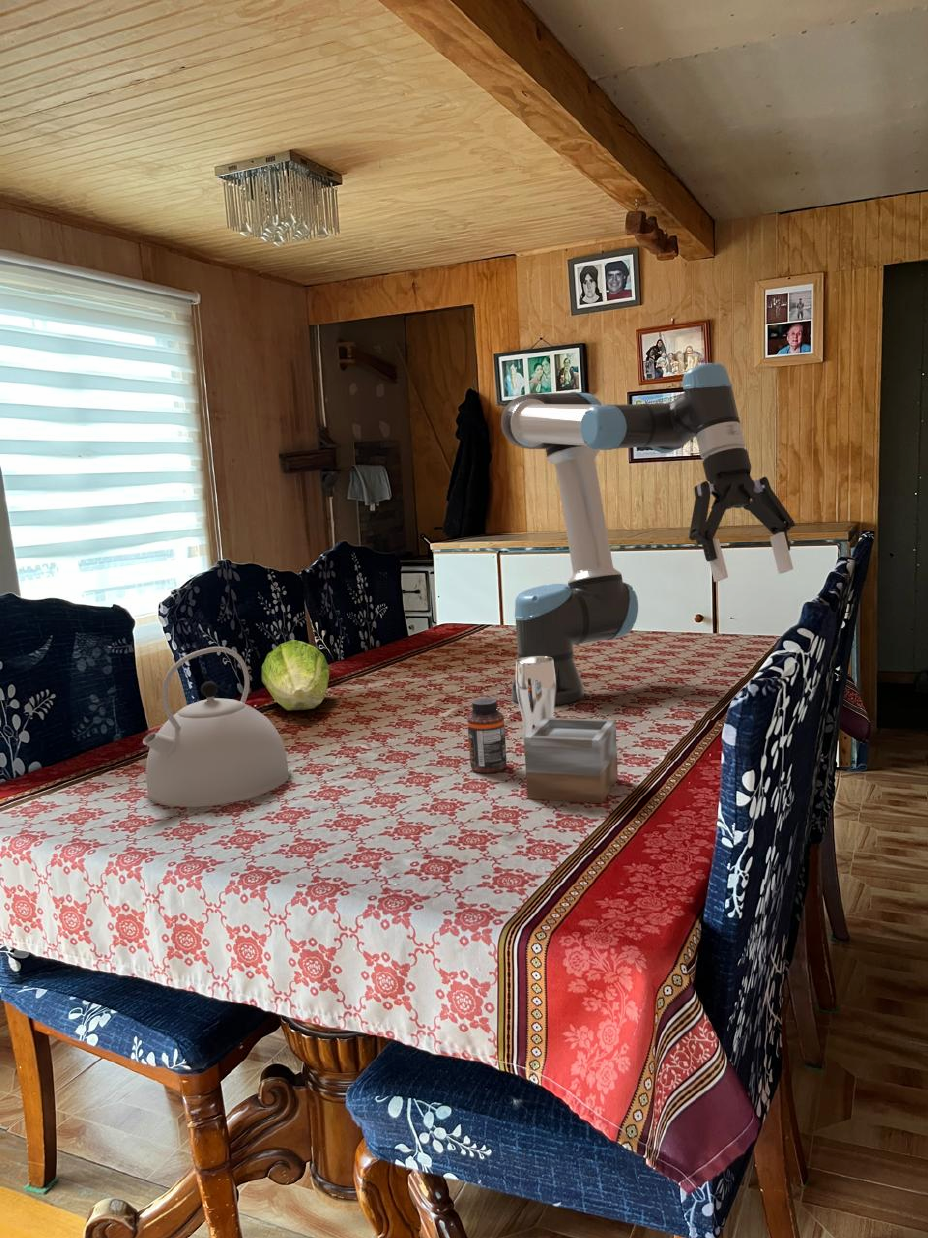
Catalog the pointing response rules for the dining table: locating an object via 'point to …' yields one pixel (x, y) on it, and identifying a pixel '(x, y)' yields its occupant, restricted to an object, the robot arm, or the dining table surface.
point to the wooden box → (571, 759)
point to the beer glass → (535, 690)
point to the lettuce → (296, 675)
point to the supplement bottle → (486, 737)
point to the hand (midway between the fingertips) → (754, 575)
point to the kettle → (213, 749)
